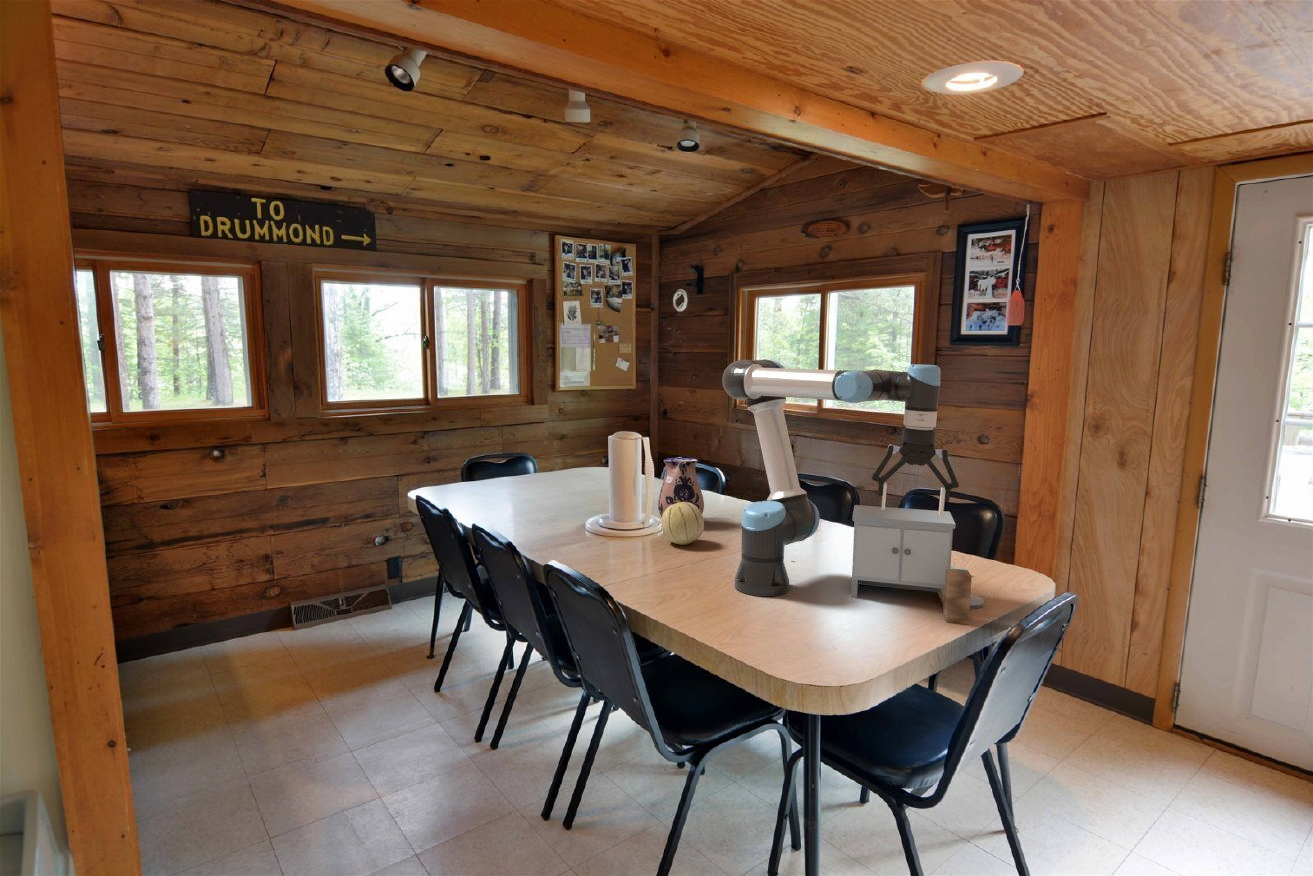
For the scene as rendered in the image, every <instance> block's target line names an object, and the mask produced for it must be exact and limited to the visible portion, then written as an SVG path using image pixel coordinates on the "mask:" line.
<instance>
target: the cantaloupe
mask: <svg viewBox="0 0 1313 876" xmlns="http://www.w3.org/2000/svg"><path fill="white" fill-rule="evenodd" d="M674 502H676V503H675V504H672V505H671V506H669V507H668V508H667V509H666V510H665V511H664V513H663V515H662V517H661V522H660V523H661V529H662V532H663V535H664V536H665V538H667V540H668V541H669V542H671V543H674V544H677V545H682V546H687V545H689V544H691V543H693V542H695V541H697V540H698V539H699V538H700V537H701V536H702V535H703V533H704V530H705V520H704V516H703V513H702V514H701V512H700V510H699V509H698V508H697V507H696V506H695V505H693V504H692V503H688V502H679V501H677V500H674Z"/></svg>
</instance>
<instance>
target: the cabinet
mask: <svg viewBox="0 0 1313 876" xmlns="http://www.w3.org/2000/svg"><path fill="white" fill-rule="evenodd" d="M851 521H852V522H854V524H853V525H854V526H853V527H854V528H853V546H852V549H853V550H852V566H851V570H852V572H851V593H850V598H855V599H857V598H858V589H859V585H861V586H863V585H865V586H872V587H873V586H874V587H882V588H890V589H891V588H893V589H902V590H911V591H922V592H930V593H931V592H932V593H938V588H942V589H945V576H946V568H948V569H950V567H952V565H951V564H952V549H953V534H954V533H953V532H954V530H955V529H956V522H955V520H954V518H953V516H952V513H951V512H950V511H944V510H943V516H940V515H939V510H929V509H917V508H904V507H903V508H901V507H889V506H888V507H887V506H885V510H882V506H874V505H862V504H861V505H860V504H854V506H853V512H852V520H851Z"/></svg>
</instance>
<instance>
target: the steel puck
mask: <svg viewBox="0 0 1313 876" xmlns="http://www.w3.org/2000/svg"><path fill="white" fill-rule="evenodd" d="M984 601H985V600H984V598H983V597H982V596H981V595H977V594H974V593H971V595H970V609H974V610H975V609H976V610H977V609H981V608H982V609H983V607H984Z"/></svg>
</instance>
